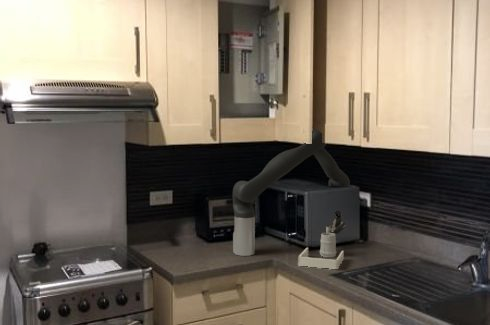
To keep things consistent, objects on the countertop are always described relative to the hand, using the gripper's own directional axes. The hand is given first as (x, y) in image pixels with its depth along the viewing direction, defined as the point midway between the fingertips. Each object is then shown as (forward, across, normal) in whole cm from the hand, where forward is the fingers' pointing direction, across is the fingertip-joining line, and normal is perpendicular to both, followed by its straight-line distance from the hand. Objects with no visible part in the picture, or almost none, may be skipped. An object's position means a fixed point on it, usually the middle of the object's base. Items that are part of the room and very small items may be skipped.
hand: (329, 239), depth 251 cm
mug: (+8, 0, 0) cm, 8 cm away
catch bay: (+19, 0, -11) cm, 22 cm away
